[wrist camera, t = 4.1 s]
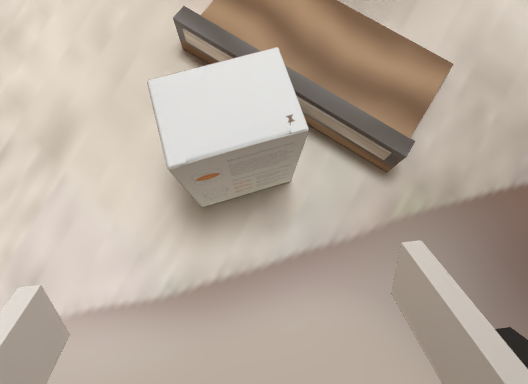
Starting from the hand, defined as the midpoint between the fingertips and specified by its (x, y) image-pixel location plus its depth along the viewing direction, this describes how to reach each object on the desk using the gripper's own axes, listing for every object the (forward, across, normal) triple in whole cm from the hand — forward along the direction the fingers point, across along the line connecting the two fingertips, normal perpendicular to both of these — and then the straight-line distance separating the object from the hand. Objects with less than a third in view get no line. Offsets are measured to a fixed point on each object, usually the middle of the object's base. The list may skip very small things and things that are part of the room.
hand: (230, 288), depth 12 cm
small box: (+16, 0, -3) cm, 17 cm away
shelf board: (+23, +9, +4) cm, 25 cm away
